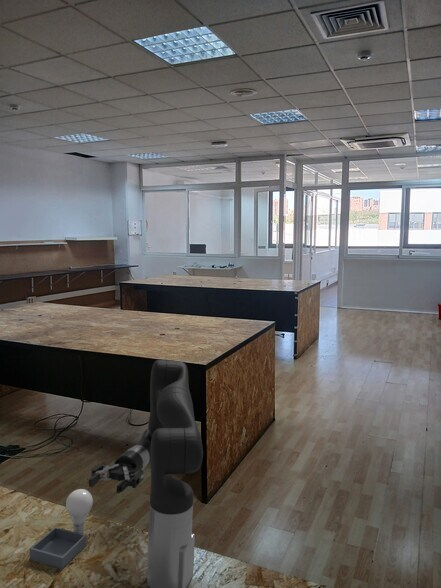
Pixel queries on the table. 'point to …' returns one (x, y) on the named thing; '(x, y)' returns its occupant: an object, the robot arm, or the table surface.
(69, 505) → the lightbulb
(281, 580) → the table surface
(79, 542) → the walled box
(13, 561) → the table surface
